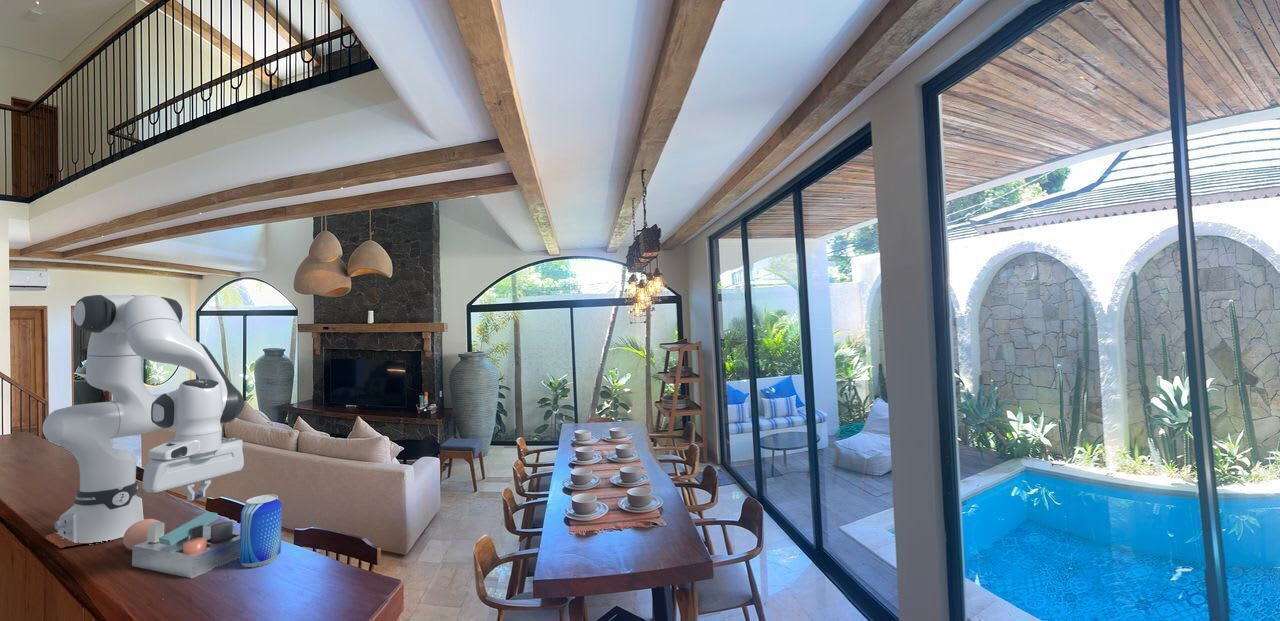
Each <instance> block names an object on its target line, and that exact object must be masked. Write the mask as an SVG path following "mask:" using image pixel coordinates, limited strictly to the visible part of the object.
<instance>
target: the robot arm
mask: <svg viewBox="0 0 1280 621" xmlns="http://www.w3.org/2000/svg"><path fill="white" fill-rule="evenodd" d="M72 317H73V320H74V325H75V327H77V328H78V329H79V330H81V331H83V332H87V333H88V332H89V333H90V336H89V340H88V344H87V350H86V351H87V352H86V353H87V354H86V363H85V364H86V365H85V366H86V367H85V380H86V382H87V384H89V385H90V386H91V387H93V388H96V389H99V390H102V391H105V392H109V393H111V395H112V400H110V401H102V402H94V403H93V402H91V403H83V404H82V403H80V404H75V405H71V406H67V407H63V408H58V409H55V410H53V411H52V412H51V413H49V414H48V415H47V416H46V418H45V419H44V421H43V423H42V432H43V433H42V434H43V435H44V437H45V439H47V441H49V442H51V443H52V444H55V445H58V446H60V447H62V448H64V449H65V450H67V451H69V452H70V453H71V454H72V455H73V456H74V458H75V460H76V461H77V463H78V468H79V490H76V491H75V493H76V494H75V498H74V504H73V505H72V506H70V508H69V509H67V510H66V511H65V512H63V513H62V514H61V515H60V516H59V518H58V520H56V521H55V522H54V529H55V530H57V531H58V533H57V534H59V535H60V536H62V537H63V538H62V539H64V538H66V539H68V540H69V541H72V542H74V543H78V542H79V543H93V542H101V543H103V542H102V541H106V542H109V541H108V540H110V541H112V540H116V539H117V540H118V539H120V538H121V539H122V538H123V537H124V534H125V532H126V531H127V529H128V528H129V527H130V526H132V525H133V524H135V523H136V522H138V521H141V520H145V519H146V518H144V509H143V499H142V498H141V497H140V496H137V494H138V490H139V485H138V481H137V478H136V477H137V458H136V456H135V454H134V453H133V452H131V451H127V450H123V449H119V448H114V447H112V446H111V440H113V439H118V438H124V437H131V436H137V435H143V434H148V433H150V432H154V431H157V430H161V429H168V430H169V429H170V430H174V429H176V430H175V433H174V438H172V439H170V440H168V441H166V442H164V443H162V444H159V445H157V446H155V447H152V448H151V449H149V450H148V452H147V457H148V458H149V459H150V460H148V462H147V463H146V464H145V467H144V470H143V475H142V476H143V477H142V489H143V490H144V491H145V492H146V493H153V494H156V493H160V492H164V491H168V490H171V489H172V490H173V489H176V488H178V487H179V488H180V487H181V488H182V490H183V491H184V492H185V494H186V495H187V496H186V500H187V501H188V502H192V501H196V500H199V499H202V498H205V497H206V491H207V489H208V488H209V487H210V484H211V483H212V479H213V478H217V477H221V476H224V475H229V474H232V473H235V472H240V471H242V470H243V468H244V466H245V457H244V452H243V446H244V445H243V444H244V443H243V442H244V441H243V439H241V438H240V437H237V436H232V437H228V438H222V436H223V428H222V424H228V423H230V422H232V421H234V420H235V419H236V418H238V417H239V415H241V413H242V411H243V410H244V407H245V400H244V396H243V394H242V393H241V391H240V390H239V389H237V388H236V386H234V384H232V382H231V381H230V380H229V378H228V376H227V375H226V373H225V372H224V371H223V369H222V368H221V366H220V364H219V363H218V361H217V360H216V359H215V357H214V356H213V354H212V352H211V351H210V350H209V349H208V346H206V345H204V344H203V343H201V342H199V341H197V340H195V339H194V338H192V337H191V336H190V335H189V334H188V333H187V332H186V331H185V330H184V328H183V326H182V324H181V322H182V319H183V308H182V305H181V304H180V303H179V302H178V301H177V300H176V299H174V298H169V297H164V296H161V297H160V296H157V295H151V294H146V295H142V294H141V295H139V294H136V295H135V294H131V295H129V294H128V295H126V294H123V295H121V294H118V295H116V294H115V295H102V294H93V295H87V296H83V297H81V298H80V299H78V300H77V301H76V303H75V305H74V308H73V310H72ZM142 359H144V360H147V361H150V362H153V363H161V364H162V363H163V364H167V365H168V364H169V365H173V366H178V367H183V368H185V369H188V370H190V371H192V372H193V373H195V375H196V376H197V378H195V379H188V380H184V381H182V382H181V383H180V384H179V386H178V388H176V389H175V390H172V391H169V392H166V393H162V394H161V395H159V396H158V397H156V396H155V395H154V394H152V393H151V392H150V390H148V388H147V387H146V385H145V383H144V381H143V373H142V372H143V371H142V366H143V364H142V363H143V362H142ZM195 483H199V484H200V485H199V487H198V489H197V490H193V488H194V487H195Z"/></svg>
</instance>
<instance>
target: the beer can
mask: <svg viewBox="0 0 1280 621" xmlns="http://www.w3.org/2000/svg"><path fill="white" fill-rule="evenodd" d="M278 496H279V495H277V494H263V495H262V494H261V495H258V496H254V497H251V498H248V499H247V500H246V501H245V505H244V506H243V507H242V509H241V511H240V529H239V530H240V558H239V559H238V560H239V563H240V564H241V565H242V567H244V566H245V567H244V568H247V567H252V568H257V566H259V567H263V566H265V564H266V565H269V564H270V562H271V563H273V562H274V561H275V560H277V558H278V556H279V555H280V554H281V551H282V548H281V547H282V515H283V514H282V512H283V504H282V502H281V500H279V497H278ZM278 540H279V541H278ZM272 561H273V562H272ZM268 563H269V564H268ZM262 565H263V566H262Z"/></svg>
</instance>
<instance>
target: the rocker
mask: <svg viewBox="0 0 1280 621" xmlns="http://www.w3.org/2000/svg"><path fill="white" fill-rule="evenodd" d="M218 519H220V518H219V515H218V512H214V511H213V512H211V511H205V512H204V513H201V514H200V515H198V516H196V517H195V518H193V519H190V520H189V521H188V522H185V523H183V524H184V525H182V524H181V525H182V526H180V527H178V528H177V527H176V528H175V529H173V530H171V531H169V532H168V533H166V534H165V533H164V536H162V537H160V538H159V541H160V544H165V545H170V546H171V545H173V544H175V543H177V542H178V541H180V540H182V539H184V538H185V537H187V536H189V535H190V530H191V528H193V527H196V526H199V525H203V527H205V526H209V525H210V524H212V523H213V522H215V521H217V520H218Z"/></svg>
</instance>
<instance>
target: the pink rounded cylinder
mask: <svg viewBox="0 0 1280 621" xmlns="http://www.w3.org/2000/svg"><path fill="white" fill-rule="evenodd" d="M206 548H207V538H204V537H202V538H195V539H191V540H188V541H186V542H184V543H183V553H184V554H189V555H190V554H193V553H195V552H198V551H200V550H203V549H206Z"/></svg>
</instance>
